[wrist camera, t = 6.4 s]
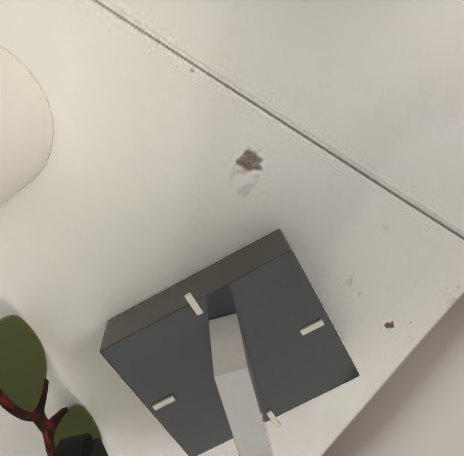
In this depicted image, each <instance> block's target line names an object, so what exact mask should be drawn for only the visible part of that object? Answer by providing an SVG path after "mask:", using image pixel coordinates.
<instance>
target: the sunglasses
mask: <svg viewBox="0 0 464 456" xmlns="http://www.w3.org/2000/svg"><path fill="white" fill-rule="evenodd" d="M46 375H47V361H46V355H45V351H44V349H43V346H42V344H41V342H40V340H39V338H38V337H37V335H36V334H35V333H34V331H33V330H32V329H31V327H30V326H29V325H28V324H27V323H26V322H25V321H24V320H23V319H21V318H20V317H18V316H16V315H10V316H7V317H4V318H2V319H0V405H1V406H2V407H3V408H4V409H5V410H6V411H8V412H9V413H11V414H12V415H14V416H15V417H17V418H19V419H21V420H24V421H32V422H34V423H35V424H36V426H37V427H38V428H39V430H40V431H41V432H42V433H43V438H44V442H45V447H46V451H47V455H48V456H54V454H55V450H56V447H57V445H58V443H59V441H60V440H61V439H63V438H67V437H71V436H76V435H80V434H84V433H90V434H91V435H92V437H93V439H94V438H100V439H101V435H100V432H99V429H98V427H97V425H96V423H95V421H94V419H93V418H92V416H91V415H90V413H89V412H88V411H87V410H86V409H85V408H84V407H83V406H81V405H78V404H75V405H72V406H70V407H69V408H67V407H65V408H62V409H61V410H59V411H58V412H57V413H56V414H55V415H54V416H52V417H51V418H50V419H48V418H47V417H46V415H45V413H44V409H45V403H46V398H47V392H48V383H49V381H48V380H47V379H46ZM101 441H102V439H101Z"/></svg>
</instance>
